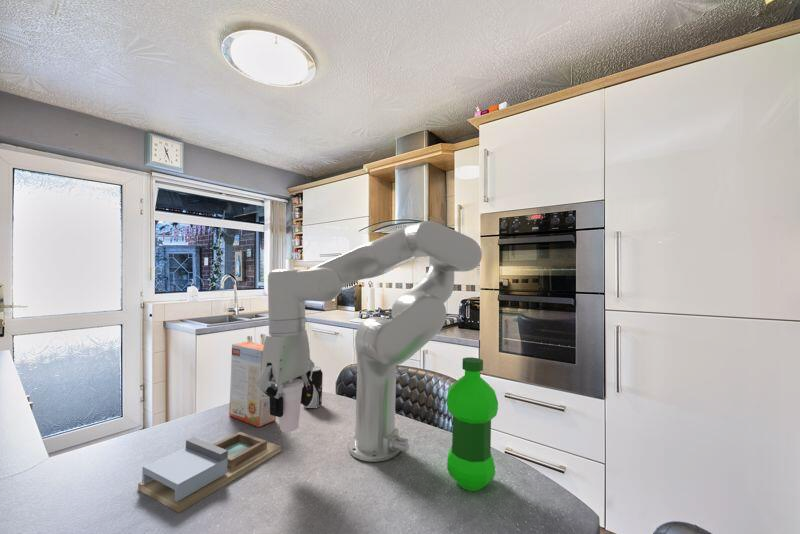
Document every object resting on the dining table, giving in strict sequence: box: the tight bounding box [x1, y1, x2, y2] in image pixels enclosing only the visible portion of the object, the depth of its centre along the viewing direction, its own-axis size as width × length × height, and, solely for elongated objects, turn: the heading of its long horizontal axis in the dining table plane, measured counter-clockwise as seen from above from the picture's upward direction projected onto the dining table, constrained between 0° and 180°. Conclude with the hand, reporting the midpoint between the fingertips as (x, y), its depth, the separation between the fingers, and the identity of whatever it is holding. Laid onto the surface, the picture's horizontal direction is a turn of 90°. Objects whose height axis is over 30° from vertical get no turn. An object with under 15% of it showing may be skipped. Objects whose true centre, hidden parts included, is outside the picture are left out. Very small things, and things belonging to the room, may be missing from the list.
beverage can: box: [302, 366, 323, 409], centre depth 105 cm, size 6×6×12 cm
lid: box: [141, 436, 228, 502], centre depth 65 cm, size 11×10×4 cm
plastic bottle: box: [446, 356, 499, 492], centre depth 68 cm, size 10×10×25 cm
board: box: [137, 431, 282, 514], centre depth 71 cm, size 13×23×3 cm, turn 153°
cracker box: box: [228, 341, 277, 428], centre depth 96 cm, size 14×6×21 cm, turn 58°
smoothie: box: [274, 378, 304, 433], centre depth 72 cm, size 6×6×14 cm
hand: (288, 408), depth 72 cm, fingers closed on smoothie, 6 cm apart
